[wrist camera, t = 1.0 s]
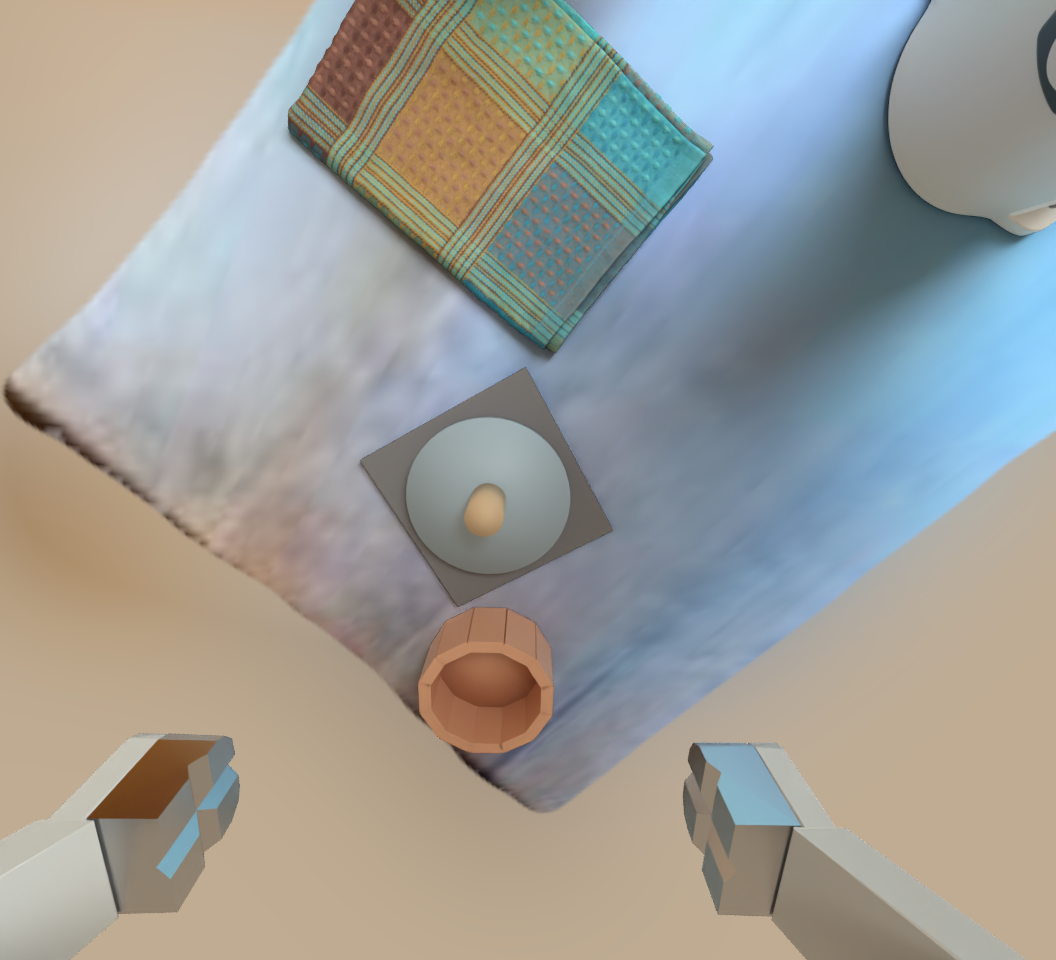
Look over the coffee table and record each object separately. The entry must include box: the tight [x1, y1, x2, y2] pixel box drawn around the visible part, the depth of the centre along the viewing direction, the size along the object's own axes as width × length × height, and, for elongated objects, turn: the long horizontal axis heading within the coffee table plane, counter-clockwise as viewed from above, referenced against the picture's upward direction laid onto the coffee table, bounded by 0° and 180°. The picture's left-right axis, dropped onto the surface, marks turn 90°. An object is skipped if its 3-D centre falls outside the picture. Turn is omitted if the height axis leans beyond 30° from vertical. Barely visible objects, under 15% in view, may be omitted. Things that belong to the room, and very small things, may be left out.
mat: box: [360, 367, 613, 606], centre depth 40 cm, size 15×15×1 cm
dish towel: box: [288, 0, 713, 353], centre depth 32 cm, size 17×23×2 cm
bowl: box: [418, 607, 554, 753], centre depth 42 cm, size 11×11×5 cm
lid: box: [406, 416, 570, 574], centre depth 37 cm, size 13×13×5 cm
